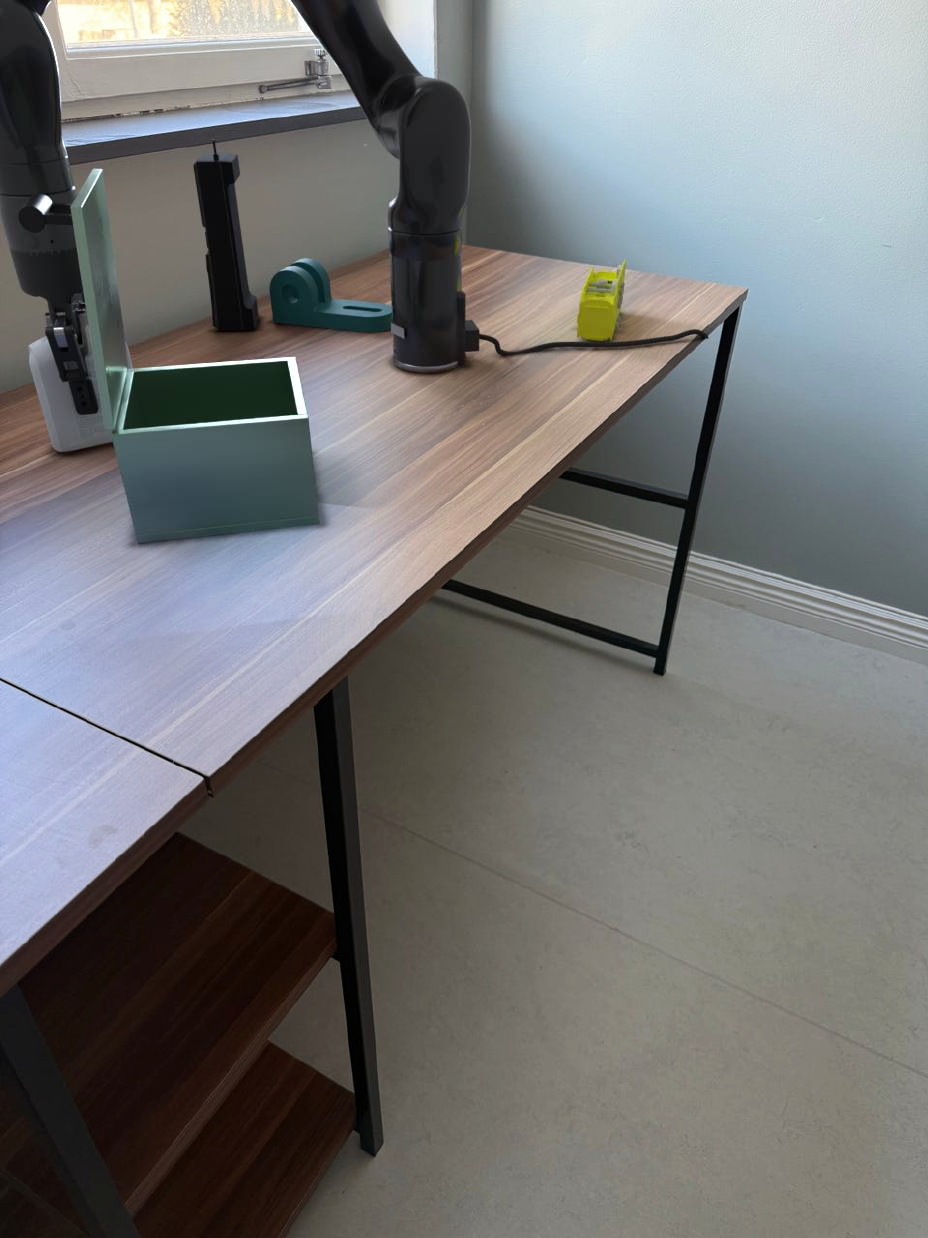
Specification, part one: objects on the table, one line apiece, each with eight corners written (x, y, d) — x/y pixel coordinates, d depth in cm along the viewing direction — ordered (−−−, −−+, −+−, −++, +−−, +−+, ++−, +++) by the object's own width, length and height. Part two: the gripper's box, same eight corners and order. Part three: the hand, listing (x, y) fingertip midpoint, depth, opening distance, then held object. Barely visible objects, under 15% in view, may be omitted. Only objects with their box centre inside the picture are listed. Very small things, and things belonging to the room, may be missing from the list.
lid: (102, 168, 78) (33, 164, 76) (81, 206, 65) (-1, 202, 64) (128, 364, 88) (67, 364, 87) (114, 429, 75) (43, 430, 74)
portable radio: (220, 315, 136) (191, 131, 122) (259, 314, 137) (235, 131, 122) (212, 332, 130) (181, 140, 115) (254, 331, 130) (228, 140, 116)
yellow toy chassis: (613, 346, 126) (620, 286, 121) (574, 342, 127) (579, 283, 122) (623, 312, 139) (629, 256, 134) (587, 309, 140) (592, 254, 135)
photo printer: (140, 422, 103) (116, 316, 96) (152, 435, 101) (128, 326, 93) (49, 443, 99) (16, 333, 92) (58, 457, 96) (25, 345, 89)
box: (305, 453, 98) (295, 356, 91) (319, 524, 85) (308, 417, 79) (147, 468, 94) (125, 368, 88) (137, 543, 82) (110, 434, 76)
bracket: (273, 322, 134) (266, 268, 129) (292, 308, 139) (287, 256, 134) (384, 334, 130) (382, 278, 125) (400, 320, 135) (398, 266, 130)
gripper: (80, 255, 82) (122, 425, 92) (96, 220, 93) (131, 375, 103) (-6, 260, 81) (46, 432, 91) (20, 224, 92) (64, 381, 102)
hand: (91, 401), depth 97 cm, fingers closed on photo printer, 5 cm apart
